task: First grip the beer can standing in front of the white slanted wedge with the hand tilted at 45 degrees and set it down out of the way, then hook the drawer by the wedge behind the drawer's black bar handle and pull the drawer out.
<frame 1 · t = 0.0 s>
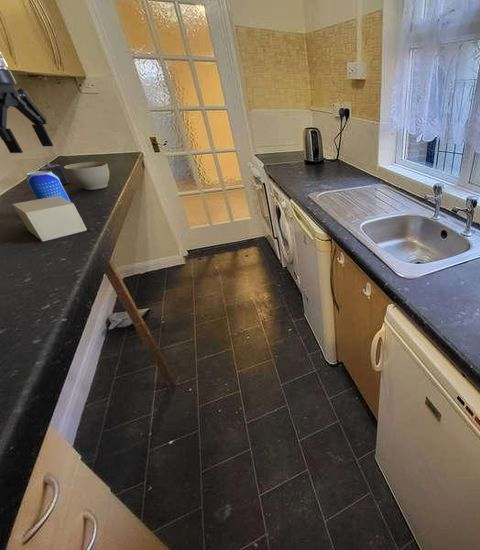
hand: (33, 149, 94), 25 cm above the worktop, tool pointing down, fingers open, 13 cm apart
white slanted wedge: (58, 230, 102), on the worktop
flask: (59, 185, 151), on the worktop
planter bowl: (96, 188, 148), on the worktop
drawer: (46, 214, 102), point 5 cm above the worktop, slide at 0.5 cm
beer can: (62, 215, 115), on the worktop
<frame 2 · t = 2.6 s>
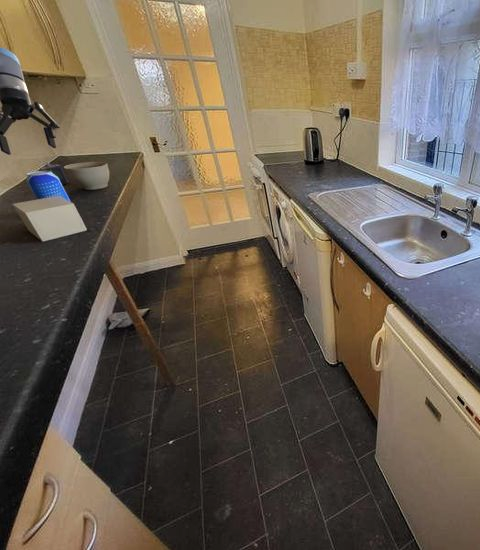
hand: (29, 149, 105), 23 cm above the worktop, tool tilted 35°, fingers open, 13 cm apart
nothing on the worktop moved.
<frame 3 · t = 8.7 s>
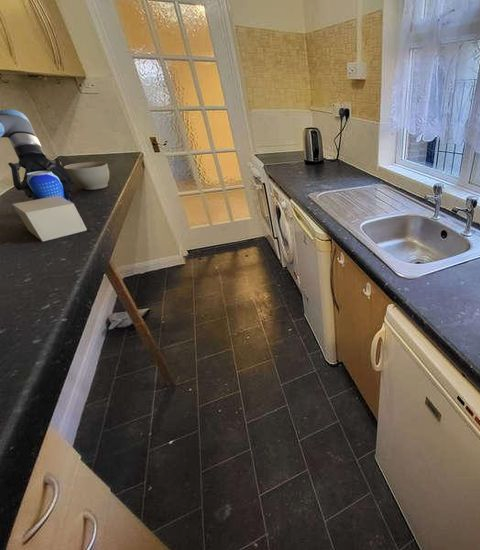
hand: (54, 201, 109), 6 cm above the worktop, tool tilted 45°, fingers closed on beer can, 8 cm apart
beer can: (62, 215, 115), on the worktop, touching gripper
everything else where it was.
when the fingers open (6 cm above the worktop, at t = 16.5 s): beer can stays where it is, on the worktop.
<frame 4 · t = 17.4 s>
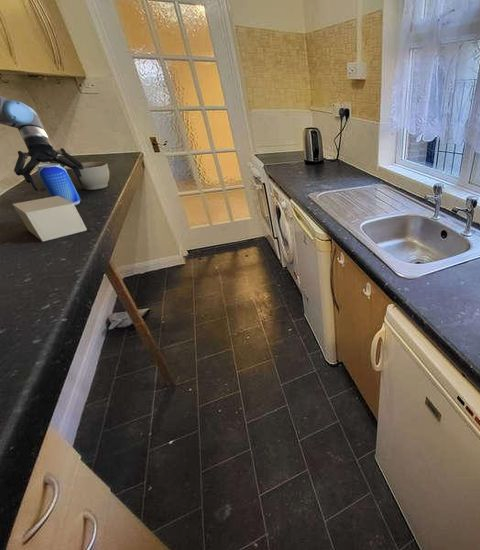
hand: (58, 185, 120), 8 cm above the worktop, tool tilted 45°, fingers open, 13 cm apart
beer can: (69, 204, 126), on the worktop
everything else where it was.
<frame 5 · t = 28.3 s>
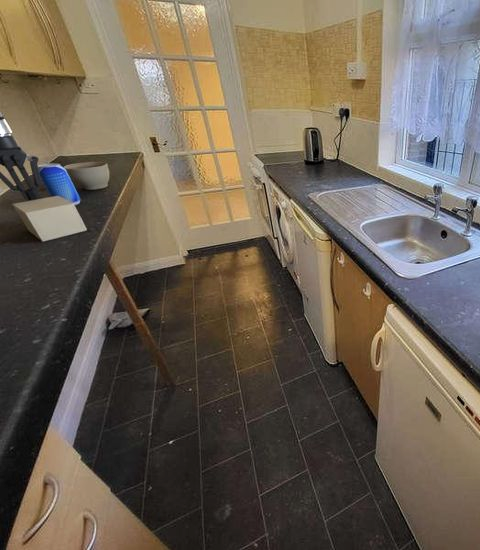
hand: (39, 208, 104), 6 cm above the worktop, tool pointing down, fingers closed
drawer: (45, 214, 102), point 5 cm above the worktop, slide at 1.1 cm
everything else where it was.
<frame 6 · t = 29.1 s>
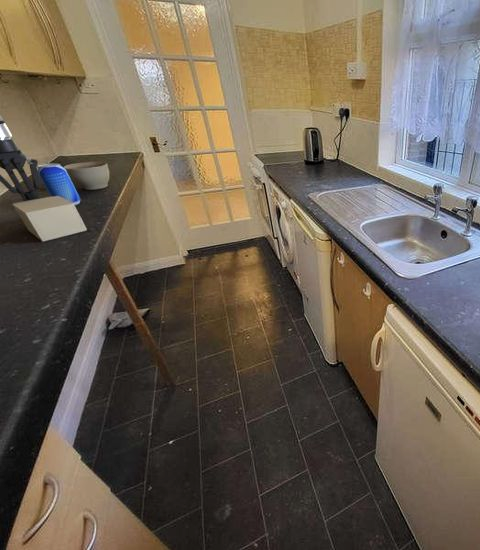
hand: (38, 210, 106), 4 cm above the worktop, tool pointing down, fingers closed
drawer: (43, 212, 103), point 5 cm above the worktop, slide at 3.9 cm, touching gripper
everything else where it was.
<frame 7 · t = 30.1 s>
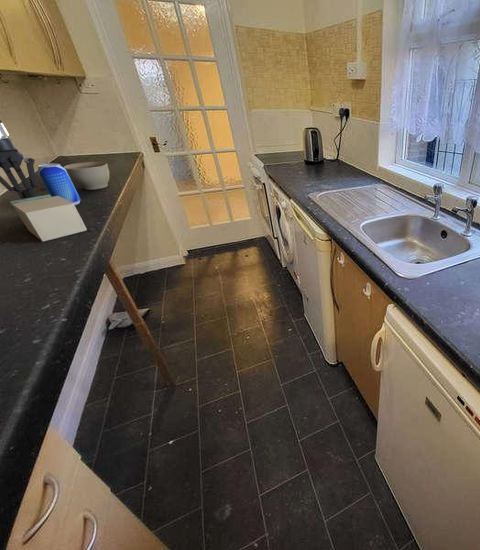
hand: (35, 208, 108), 4 cm above the worktop, tool pointing down, fingers closed
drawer: (39, 210, 105), point 5 cm above the worktop, slide at 7.6 cm, touching gripper
everything else where it was.
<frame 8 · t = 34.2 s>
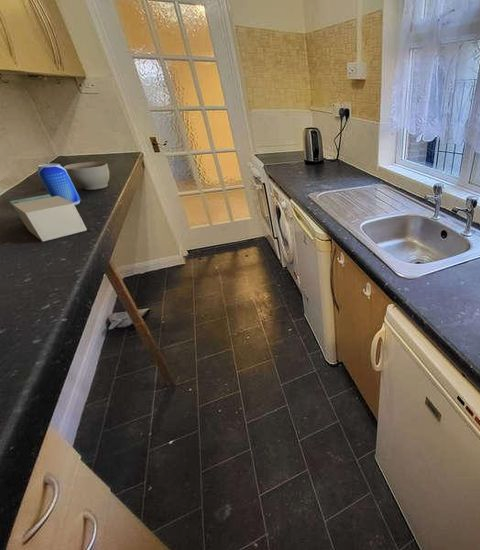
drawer: (39, 210, 105), point 5 cm above the worktop, slide at 7.8 cm
everything else where it was.
at the end: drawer slide at 7.8 cm; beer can inside the target area (0.1 cm from its centre), on the worktop; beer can tilted 0° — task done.
